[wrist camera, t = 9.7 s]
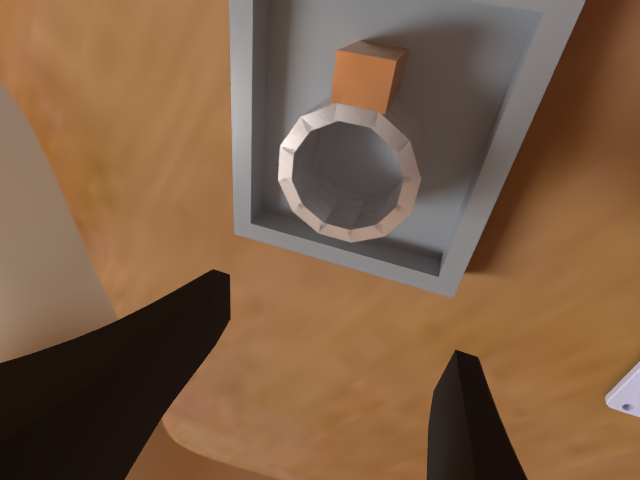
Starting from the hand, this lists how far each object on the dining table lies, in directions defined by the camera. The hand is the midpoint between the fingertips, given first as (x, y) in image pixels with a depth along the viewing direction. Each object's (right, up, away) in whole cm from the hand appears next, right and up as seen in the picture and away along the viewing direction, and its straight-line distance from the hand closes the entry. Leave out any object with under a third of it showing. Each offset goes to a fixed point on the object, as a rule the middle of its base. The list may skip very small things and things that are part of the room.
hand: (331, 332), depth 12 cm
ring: (+2, +7, +6) cm, 9 cm away
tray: (+2, +8, +6) cm, 10 cm away
